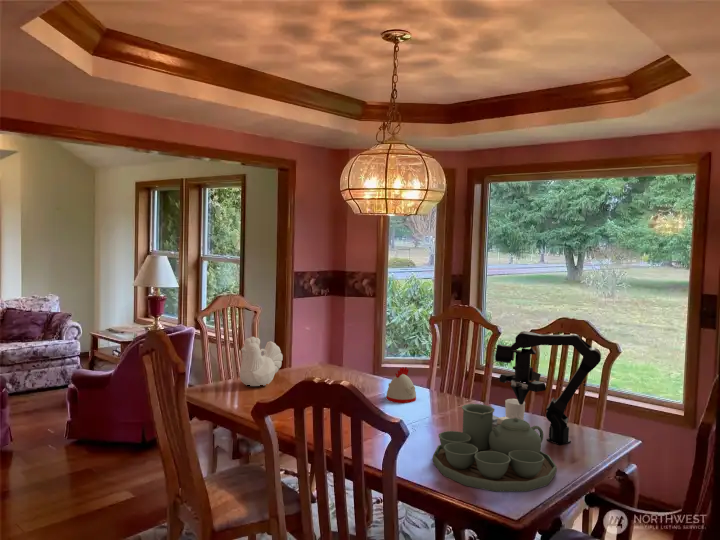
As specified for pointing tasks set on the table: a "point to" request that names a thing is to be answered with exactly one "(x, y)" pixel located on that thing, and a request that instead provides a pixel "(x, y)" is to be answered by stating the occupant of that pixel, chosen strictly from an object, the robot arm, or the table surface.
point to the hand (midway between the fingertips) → (521, 404)
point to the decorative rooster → (259, 362)
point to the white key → (501, 419)
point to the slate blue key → (495, 418)
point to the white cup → (514, 409)
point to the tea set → (494, 453)
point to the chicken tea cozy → (401, 388)
